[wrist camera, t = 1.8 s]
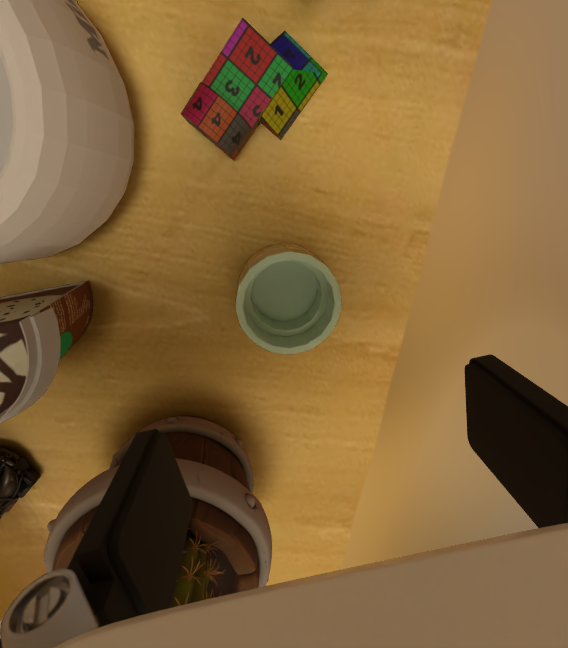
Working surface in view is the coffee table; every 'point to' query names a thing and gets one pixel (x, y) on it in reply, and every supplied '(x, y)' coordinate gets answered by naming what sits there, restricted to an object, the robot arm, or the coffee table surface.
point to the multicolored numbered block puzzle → (253, 89)
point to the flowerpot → (206, 517)
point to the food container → (38, 340)
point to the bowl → (287, 299)
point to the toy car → (14, 479)
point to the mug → (58, 129)
